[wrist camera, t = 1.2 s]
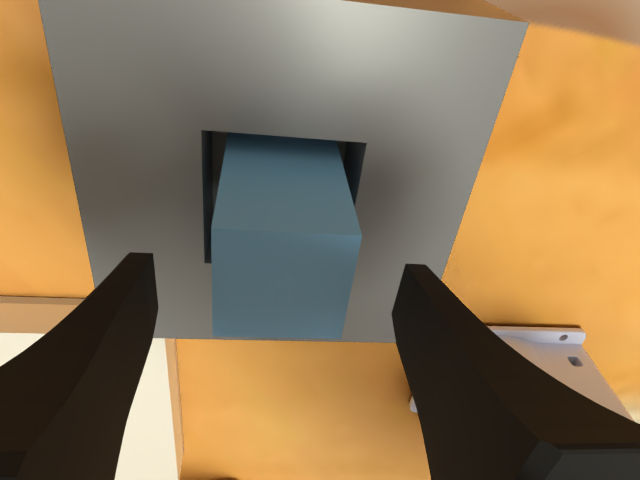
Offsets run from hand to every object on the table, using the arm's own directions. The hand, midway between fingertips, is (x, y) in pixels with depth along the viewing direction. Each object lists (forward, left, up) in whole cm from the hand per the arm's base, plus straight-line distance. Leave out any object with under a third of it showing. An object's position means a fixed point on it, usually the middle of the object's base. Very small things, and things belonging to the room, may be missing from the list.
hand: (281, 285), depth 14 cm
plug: (0, 0, -8) cm, 8 cm away
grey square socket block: (0, 0, -9) cm, 9 cm away
